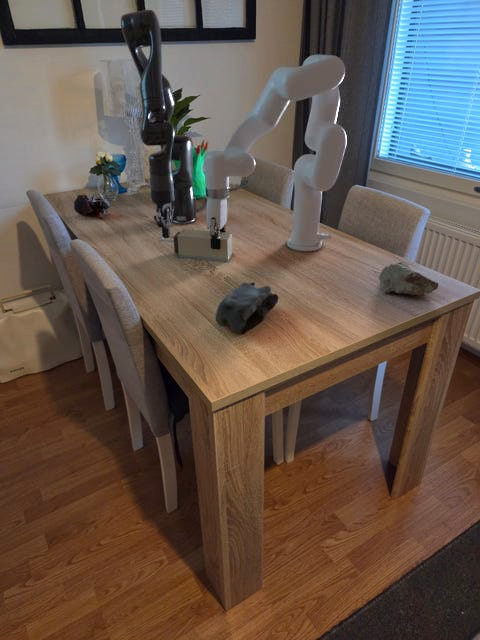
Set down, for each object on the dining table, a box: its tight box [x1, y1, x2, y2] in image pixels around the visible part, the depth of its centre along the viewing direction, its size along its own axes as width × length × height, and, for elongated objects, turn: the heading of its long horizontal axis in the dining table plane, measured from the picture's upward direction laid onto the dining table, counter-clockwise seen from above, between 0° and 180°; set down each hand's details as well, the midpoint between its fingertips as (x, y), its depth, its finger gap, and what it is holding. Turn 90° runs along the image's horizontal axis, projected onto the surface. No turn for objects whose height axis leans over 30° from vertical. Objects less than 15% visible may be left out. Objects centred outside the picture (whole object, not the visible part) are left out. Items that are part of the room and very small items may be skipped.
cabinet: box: [177, 228, 233, 262], centre depth 153 cm, size 18×6×8 cm, turn 77°
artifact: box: [378, 261, 439, 296], centre depth 132 cm, size 18×7×15 cm
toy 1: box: [73, 194, 111, 220], centre depth 187 cm, size 12×9×15 cm
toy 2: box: [172, 137, 209, 200], centre depth 210 cm, size 20×20×25 cm
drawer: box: [157, 231, 181, 254], centre depth 154 cm, size 22×5×6 cm, turn 77°
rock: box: [215, 281, 279, 335], centre depth 115 cm, size 18×11×8 cm, turn 152°
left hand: (166, 237), depth 154 cm, fingers closed
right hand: (218, 244), depth 151 cm, fingers closed on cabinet, 6 cm apart
